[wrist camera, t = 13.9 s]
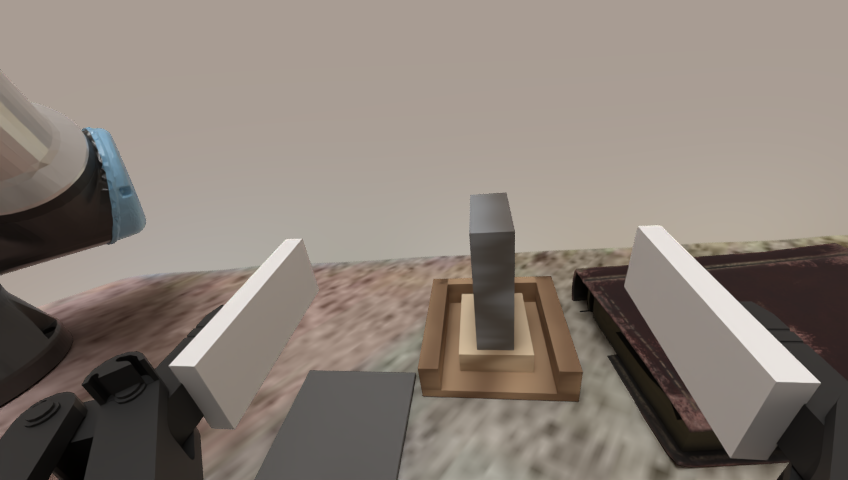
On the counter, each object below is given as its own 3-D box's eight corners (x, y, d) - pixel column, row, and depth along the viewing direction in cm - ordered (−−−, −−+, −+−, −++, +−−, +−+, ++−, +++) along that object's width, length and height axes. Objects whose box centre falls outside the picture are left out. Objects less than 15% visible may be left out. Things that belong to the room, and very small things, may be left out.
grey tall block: (460, 371, 29) (446, 237, 23) (463, 309, 36) (453, 194, 30) (533, 372, 28) (539, 233, 22) (521, 308, 35) (523, 189, 29)
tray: (422, 396, 29) (417, 368, 27) (436, 302, 39) (433, 279, 37) (578, 401, 26) (582, 371, 25) (549, 301, 37) (550, 276, 35)
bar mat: (250, 493, 23) (248, 490, 23) (311, 373, 32) (310, 370, 32) (392, 506, 22) (391, 503, 22) (415, 375, 30) (415, 372, 30)
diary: (568, 301, 38) (572, 262, 35) (808, 278, 36) (828, 236, 34) (682, 488, 21) (703, 438, 19) (1128, 458, 20) (1209, 400, 18)
